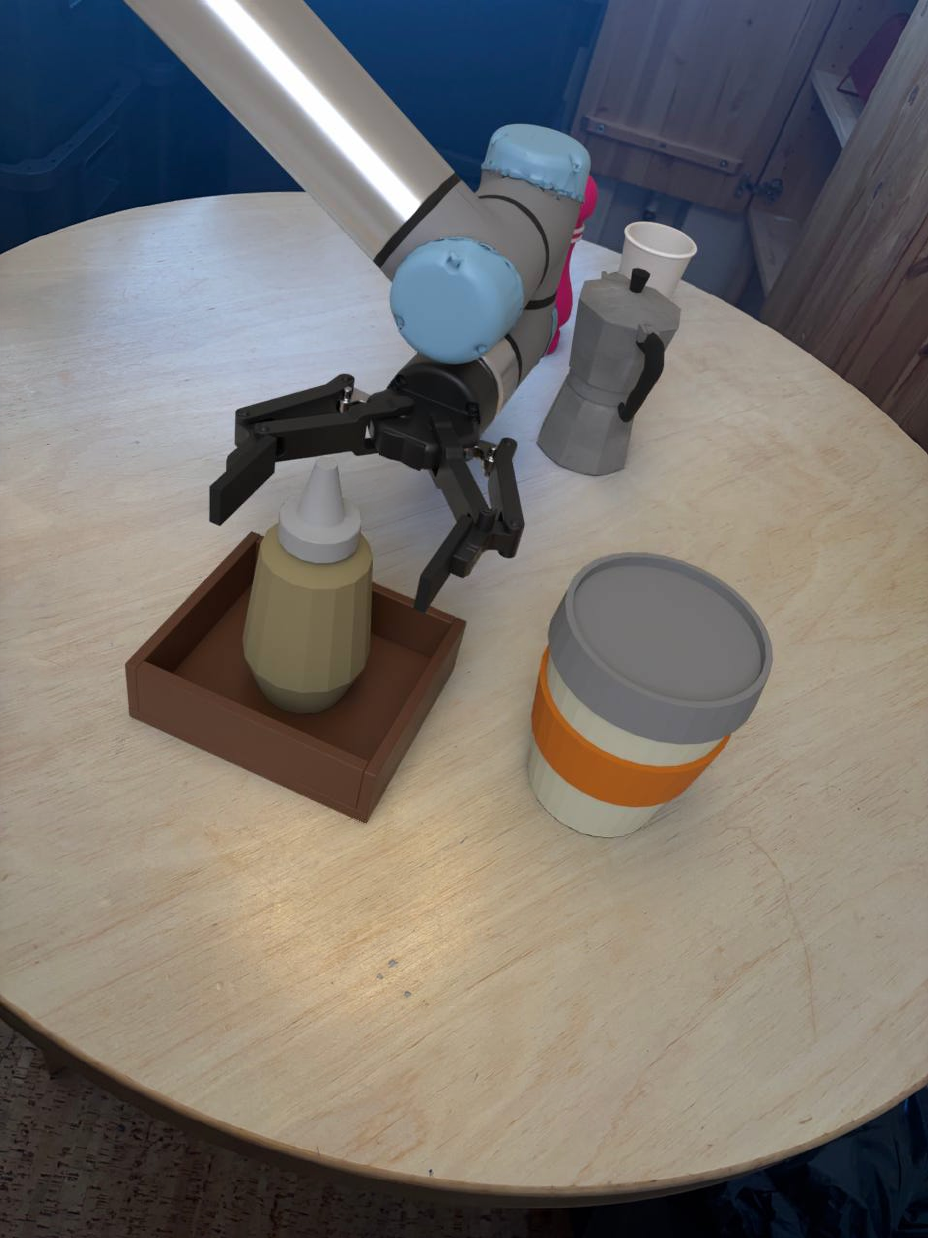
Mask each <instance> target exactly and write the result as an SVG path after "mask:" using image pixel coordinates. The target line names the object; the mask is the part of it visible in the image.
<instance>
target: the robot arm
mask: <svg viewBox="0 0 928 1238" xmlns="http://www.w3.org/2000/svg"><path fill="white" fill-rule="evenodd" d="M123 2H124V3H125V4H126V5H127V6H128V7H129V8H130V9H131V10H132V11H133V12H134V13H135V14H136V15H137V16H138V17H139V18H140V19H141V21H143V23H144V24H145V25H146V27H148V28H149V29H150V30H151V31H152V33H154V34H155V35H156V36H157V37H158V38H159V40H161V41H162V42H163V44H164V45H165V46H166V47H167V49H169V50H170V51H171V52H172V53H173V54H174V55H175V56H176V57H177V59H179V60H180V61H181V62H182V63H183V65H184V66H185V67H186V68H187V69H188V70H189V71H190V72H191V73H192V74H193V75H194V76H195V77H196V79H198V80H199V81H200V82H201V83H202V85H204V86H205V87H206V88H207V90H208V91H209V92H210V93H211V94H212V95H213V96H214V97H215V98H216V100H218V101H219V102H220V104H222V106H224V107H225V108H226V110H227V111H228V112H229V113H230V114H231V115H232V116H233V117H234V118H235V119H236V120H237V121H238V122H239V123H240V124H241V125H242V126H243V127H244V129H246V131H248V133H249V134H250V135H251V136H252V137H253V138H254V139H255V140H256V141H257V142H258V143H259V144H260V145H261V146H262V148H264V149H265V150H266V151H267V152H268V154H269V155H270V156H271V157H273V159H274V160H275V161H276V162H277V163H278V164H279V165H280V166H281V168H283V169H284V170H285V171H286V172H287V174H289V175H290V176H291V178H292V179H293V180H294V181H295V182H296V183H297V184H298V185H299V186H300V187H301V188H302V189H303V191H305V193H307V194H308V196H310V198H311V199H312V200H313V201H314V202H315V203H316V204H317V205H318V206H319V207H320V208H321V209H322V210H323V211H324V212H325V214H327V215H328V217H330V218H331V219H332V220H333V222H334V223H335V224H336V225H337V226H338V227H339V228H340V229H341V230H342V231H343V232H344V233H345V234H346V235H347V236H348V237H349V238H350V239H351V240H352V242H353V243H354V244H355V245H357V247H358V248H359V249H360V250H361V251H362V252H363V253H364V254H365V255H366V257H367V258H369V259H370V260H371V261H372V262H373V263H374V265H376V267H377V268H378V269H379V270H380V271H381V273H383V275H384V276H385V277H386V279H387V280H388V281H390V282H391V286H390V289H389V309H390V312H391V314H392V316H393V321H394V323H395V325H396V327H397V331H398V333H399V334H400V336H401V337H402V339H403V340H404V341H405V342H406V344H408V345H409V347H411V348H412V349H413V350H414V351H416V353H415V355H414V356H413V357H412V358H410V360H408V361H407V363H406V364H405V365H403V366H402V368H401V369H400V370H399V371H398V372H397V373H396V374H395V375H394V376H393V378H392V379H391V381H390V382H389V383H388V384H387V387H385V389H383V390H381V391H378V392H373V393H372V394H368V393H366V392H365V391H362V390H360V389H359V388H356V387H355V383H356V382H355V381H356V379H355V376H354V375H352V374H350V373H340V374H338V375H337V376H335V377H334V378H332V379H331V380H329V381H328V382H327V383H325V384H321V385H318V386H314V387H310V388H307V389H303V390H299V391H297V392H296V391H295V392H292V393H289V394H285V395H282V396H278V397H275V398H274V397H273V398H271V399H268V400H264V401H261V402H257V403H253V404H250V405H246V406H243V407H239V408H237V409H236V410H235V411H234V442H233V443H234V446H235V447H236V448H234V449H233V450H232V451H231V452H230V453H229V454H228V455H227V457H226V459H225V460H226V461H225V471H224V472H223V473H222V474H221V475H220V476H219V477H218V478H216V480H214V482H213V483H211V484H210V485H209V486H208V487H209V489H208V490H209V493H208V495H209V497H208V503H209V504H208V522H209V523H211V524H213V525H215V526H218V527H221V526H223V524H225V522H226V521H227V520H228V519H230V518H231V517H232V515H233V514H234V513H236V511H238V510H239V508H241V506H242V505H243V504H244V503H245V502H247V501H248V499H250V497H252V496H253V494H255V493H256V492H257V491H258V490H259V489H260V488H261V487H262V486H263V485H264V484H265V483H266V482H267V481H268V480H269V479H270V478H271V477H272V476H273V475H274V474H275V472H276V463H281V462H287V461H288V462H289V461H295V460H303V459H309V458H315V457H323V456H329V455H337V454H343V453H353V455H354V456H356V457H362V456H363V457H364V456H370V455H377V454H378V456H380V457H383V458H385V459H388V460H391V461H396V462H399V463H402V464H403V465H404V466H407V467H408V468H410V469H412V470H415V471H417V472H421V470H425V471H428V473H429V475H430V477H431V479H432V482H433V483H434V486H435V488H436V489H437V490H441V492H442V494H443V497H444V499H445V500H446V503H447V505H448V508H449V509H450V511H451V513H452V515H453V517H454V519H455V522H456V523H455V524H454V526H453V527H452V528H451V530H450V531H449V532H448V534H447V536H446V537H445V539H444V540H443V541H442V543H441V544H440V546H439V547H438V549H437V550H436V551H435V553H434V555H433V556H432V558H431V559H430V560H429V562H428V563H427V564H426V566H425V567H424V569H423V571H422V572H421V574H419V578H418V579H419V580H418V584H417V588H416V593H415V597H414V599H415V602H414V607H413V609H415V610H418V611H420V612H422V613H425V612H426V611H427V609H428V608H429V606H431V604H432V603H433V602H434V601H435V599H436V597H437V596H438V594H439V592H440V591H441V589H442V588H443V587H444V585H445V584H446V582H447V580H448V579H449V577H450V575H453V576H456V577H458V578H460V579H465V578H467V577H468V576H470V574H471V572H472V571H473V569H474V568H475V566H476V564H477V563H478V562H479V560H480V558H481V557H482V555H483V554H484V553H486V552H488V551H497V553H498V555H499V556H501V557H502V558H504V559H507V560H508V559H513V558H515V557H517V552H518V550H519V546H520V543H521V540H522V537H523V532H524V530H525V525H526V523H525V518H524V512H523V507H522V503H521V498H520V492H519V488H518V482H517V478H516V471H515V467H514V460H515V459H514V458H515V454H516V452H517V450H518V449H517V448H518V441H516V440H515V439H513V438H512V437H502V438H501V439H500V440H499V443H498V444H496V443H493V442H490V441H487V440H483V439H481V438H482V437H483V436H484V435H485V433H486V432H487V430H488V429H489V428H490V427H491V425H492V423H493V422H494V421H495V419H496V418H497V417H498V415H499V414H500V413H501V411H502V410H503V409H504V407H505V406H506V405H507V404H508V402H509V401H510V400H511V399H512V397H513V395H514V394H515V392H516V391H517V389H518V388H519V387H520V386H521V385H522V383H523V382H524V380H525V379H526V378H527V377H528V376H529V374H530V373H531V371H533V369H534V368H535V367H536V366H537V365H539V364H540V362H541V359H543V358H545V356H546V355H545V354H546V353H547V350H548V348H549V346H550V343H551V341H552V339H553V337H554V335H555V332H556V329H557V323H558V314H557V309H556V305H555V301H556V295H557V292H558V285H559V282H560V279H561V275H562V272H563V268H564V265H565V261H566V258H567V254H568V251H569V248H570V244H571V241H572V237H573V234H574V230H575V227H576V223H577V220H578V217H579V213H580V210H581V206H582V204H584V203H585V200H586V199H585V195H584V194H585V189H586V185H587V181H588V176H589V175H590V172H591V165H592V161H591V160H592V159H591V156H590V153H589V151H588V149H586V148H585V146H584V145H583V144H582V143H580V142H579V141H578V140H577V139H575V138H573V137H572V136H570V135H568V134H566V133H563V132H561V131H559V130H555V129H553V128H550V127H545V126H541V125H536V124H529V123H513V124H512V123H511V124H506V125H504V126H503V125H502V126H501V127H499V128H498V129H496V130H495V131H494V133H492V136H491V137H490V139H489V144H488V148H487V150H486V154H485V158H484V161H483V162H482V163H481V166H480V169H481V175H480V176H481V178H480V183H479V187H478V189H477V190H476V191H475V192H474V191H473V190H472V189H471V188H470V187H469V186H468V185H467V184H466V182H465V181H464V180H463V179H462V178H461V177H460V176H459V175H458V174H457V172H455V170H454V168H452V167H451V165H450V164H449V163H448V162H447V161H446V160H445V158H444V157H443V156H442V155H441V154H440V153H439V152H438V151H437V150H436V149H435V147H434V146H433V145H432V144H431V143H430V142H429V140H427V138H426V137H425V136H424V135H423V134H422V133H421V131H420V130H419V129H418V128H417V127H416V126H415V125H414V124H413V122H412V121H411V120H410V119H409V118H408V117H407V116H406V114H404V112H402V110H401V109H400V108H399V107H398V105H397V104H395V102H394V101H393V100H392V99H391V98H390V97H389V95H387V93H386V92H385V91H384V89H382V88H381V86H380V85H379V84H378V83H377V82H376V81H375V80H374V78H372V77H371V75H370V74H369V73H368V72H367V70H365V68H364V67H363V66H362V65H361V64H360V62H358V61H357V59H356V58H355V57H354V56H353V55H352V53H351V52H349V50H348V49H347V48H346V47H345V46H344V45H343V43H342V42H341V41H340V40H339V39H338V38H337V37H336V36H335V34H334V33H333V32H332V31H331V30H330V29H329V28H328V26H327V25H326V24H325V23H324V22H323V21H322V20H321V18H319V17H318V15H317V14H316V13H315V12H314V11H313V9H311V7H309V5H308V4H307V3H306V2H305V1H304V0H123ZM367 430H368V434H369V437H367V436H366V434H367ZM474 458H475V459H477V460H478V462H480V468H481V469H483V472H482V474H483V476H484V477H485V478H487V480H488V481H487V493H488V499H489V505H490V506H489V505H488V501H486V498H485V496H484V494H483V493H482V490H481V489H480V487H479V485H478V482H477V481H476V479H475V477H474V475H473V473H472V471H471V469H470V468H469V465H468V464H467V463H468V462H470V461H472V460H473V459H474Z"/></svg>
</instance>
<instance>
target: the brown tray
mask: <svg viewBox="0 0 928 1238" xmlns="http://www.w3.org/2000/svg"><path fill="white" fill-rule="evenodd" d="M264 536H265V535H261V534H260V533H258V532H255V531H253V530H251V531H250V532H249V533H248V534H247V535H246V536H245V537H244V538H243V539H242V540H241V541H240V543H238V545H236V546H235V548H233V550H232V551H231V552H230V553H229V554H228V555H226V557H225V558H224V559H223V560H222V561H221V562H220V563H219V565H218V566H216V567H215V569H214V570H213V571H212V572H211V573H210V574H208V576H207V577H206V578H205V579H204V580H203V581H202V582H201V583H200V584H199V585H198V586H197V587H196V588H195V590H194V591H193V592H192V593H191V594H190V595H189V596H188V597H187V598H186V599H185V600H184V601H183V602H182V603H181V604H180V606H178V607H177V608H176V609H175V610H174V612H172V614H171V615H170V616H169V617H168V618H167V619H166V620H165V621H164V622H163V623H162V624H161V625H160V626H159V627H158V628H157V629H156V631H155V632H154V633H153V634H152V635H150V637H149V638H148V639H146V640H145V642H144V643H143V644H142V645H141V646H140V647H139V648H138V649H137V650H136V651H135V653H133V655H132V656H130V658H129V659H128V660H127V661H126V662H125V663H124V671H125V682H126V693H127V705H128V715H129V717H131V718H133V719H134V720H137V721H139V722H141V723H143V724H146V725H148V726H150V727H153V728H155V729H157V730H159V731H162V732H164V733H165V734H168V735H170V736H172V737H174V738H177V739H179V740H181V741H183V742H185V743H187V744H189V745H191V746H194V747H196V748H198V749H200V750H203V751H204V752H207V753H209V754H211V755H214V756H216V757H218V758H220V759H222V760H225V761H226V762H229V763H231V764H234V765H235V766H237V767H240V768H242V769H244V770H246V771H249V772H251V773H252V774H255V775H257V776H259V777H262V778H264V779H266V780H268V781H270V782H273V783H274V784H277V785H279V786H281V787H284V788H286V789H288V790H290V791H292V792H294V793H297V794H299V795H301V796H303V797H305V798H307V797H308V798H307V799H310V800H312V801H314V802H316V803H318V804H320V803H321V805H323V806H324V807H327V808H329V809H331V810H334V811H336V812H338V813H340V814H343V815H344V814H345V816H347V817H349V818H351V819H353V818H354V819H353V820H355V819H356V821H357V820H359V821H358V822H360V821H361V822H360V823H362V822H363V823H362V824H364V823H366V824H367V823H368V822H369V819H370V818H371V816H372V814H373V812H374V811H373V810H375V809H376V808H377V806H378V804H379V802H380V800H381V798H382V797H383V795H384V793H385V791H386V790H387V788H388V786H389V784H390V782H391V781H392V780H393V777H394V776H395V774H396V772H397V770H398V768H399V767H400V765H401V764H402V761H403V759H404V758H405V756H406V754H407V753H408V752H409V749H410V747H411V745H412V744H413V742H414V740H415V738H416V737H417V735H418V734H419V731H420V730H421V728H422V726H423V724H424V723H425V721H426V719H427V717H428V716H429V714H430V712H431V710H432V709H433V706H434V705H435V703H436V702H437V699H438V698H439V696H440V694H441V693H442V692H443V690H444V687H445V685H446V684H447V682H448V680H449V678H450V677H451V675H452V674H453V672H454V670H455V667H456V663H457V659H458V655H459V652H460V648H461V644H462V642H463V637H464V634H465V630H466V626H467V620H465V619H462V618H460V617H458V616H457V617H456V616H455V615H453V614H450V613H448V612H445V611H443V610H441V609H439V608H436V607H434V606H431V605H430V606H429V608H428V609H427V611H426V612H425V613H422V612H420V611H418V610H415V609H413V607H414V602H415V598H412V597H410V596H407V595H404V593H401V592H398V591H395V590H393V589H391V588H389V587H387V586H383V585H381V584H379V583H376V582H374V581H372V604H371V636H370V652H369V656H368V659H367V662H366V665H365V668H364V669H363V671H362V672H361V673H360V675H359V676H358V677H357V679H356V680H355V681H354V683H353V684H352V685H351V687H350V688H349V689H348V691H347V692H346V693H345V695H344V696H343V697H342V698H341V699H340V700H339V701H338V702H337V703H336V704H335V705H334V706H333V707H330V708H328V709H325V710H323V711H320V712H318V713H306V714H298V713H294V712H290V711H286V710H282V709H280V708H279V707H277V706H276V705H274V704H273V703H271V702H269V701H268V700H267V698H266V697H265V695H264V694H263V692H262V691H261V690H260V688H259V686H258V684H257V682H256V680H255V678H254V675H253V673H252V671H251V669H250V667H249V665H248V663H247V661H246V659H245V657H244V647H243V633H244V628H245V622H246V617H247V612H248V607H249V601H250V596H251V591H252V586H253V580H254V575H255V570H256V565H257V559H258V554H259V549H260V544H261V542H262V540H263V538H264ZM369 817H370V818H369Z"/></svg>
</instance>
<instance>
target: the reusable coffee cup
mask: <svg viewBox="0 0 928 1238" xmlns="http://www.w3.org/2000/svg"><path fill="white" fill-rule="evenodd" d="M549 621H550V622H549V627H548V632H547V640H548V641H547V646H546V647H545V650H544V651H543V653H542V655H541V662H540V664H539V665H540V666H539V671H538V675H537V680H536V681H537V682H536V686H535V693H534V698H533V702H532V708H531V714H530V720H531V732H532V734H533V737H532V738H533V739H532V743H531V748H530V754H529V759H528V764H527V772H528V774H529V776H528V780H529V784H530V783H531V784H530V788H531V787H532V788H531V790H532V789H533V790H532V792H533V791H534V792H533V794H534V796H535V795H536V796H537V798H538V800H539V801H540V802H541V804H542V805H543V806H544V807H543V806H542V805H541V804H540V805H541V806H542V807H543V809H544V808H546V810H547V811H548V812H549V813H551V814H552V815H553V816H554V817H555V818H557V819H558V820H559V821H561V822H562V823H565V825H567V826H570V827H572V828H574V829H576V830H579V831H582V832H584V833H588V834H592V835H600V836H616V835H623V834H627V833H629V832H632V831H635V830H637V829H639V828H640V827H641V828H643V827H644V826H645V825H646V824H647V823H648V822H650V820H651V819H652V818H653V817H654V815H655V814H656V813H657V812H659V810H661V808H662V807H663V806H664V804H666V803H668V802H670V801H672V800H674V799H677V798H678V797H679V796H681V795H682V794H683V793H684V792H686V790H687V789H688V788H689V787H691V785H692V784H693V783H694V782H695V781H696V780H697V779H698V778H699V777H700V775H701V774H702V773H703V772H704V771H705V770H706V769H707V768H708V767H709V766H710V765H711V764H712V762H714V760H715V759H716V758H717V757H718V756H719V755H720V754H721V753H722V752H723V750H724V749H725V747H726V746H727V744H728V742H729V741H730V739H731V735H732V734H733V733H736V732H737V731H738V730H739V729H740V728H741V727H742V726H743V725H745V724H746V723H747V721H748V720H749V719H750V717H751V716H752V713H753V712H754V710H755V709H756V707H757V704H758V701H759V699H760V697H761V695H762V693H763V690H764V688H765V686H766V684H767V682H768V679H769V678H770V675H771V671H772V667H773V663H774V653H773V652H774V651H773V644H772V641H771V637H770V634H769V631H768V630H767V627H766V626H765V623H764V622H763V620H762V618H761V617H760V615H759V613H757V612H756V610H755V609H754V607H753V606H752V605H751V604H750V603H749V602H748V600H746V599H745V598H744V597H743V596H742V595H741V594H740V593H739V592H738V591H737V589H735V588H734V587H732V586H731V585H729V584H728V583H726V582H725V581H723V580H722V579H721V578H719V577H718V576H716V575H714V574H713V573H710V572H709V571H707V570H706V569H703V568H701V567H699V566H698V565H694V564H692V563H689V562H687V561H685V560H681V559H678V558H675V557H671V556H667V555H663V554H658V553H651V552H640V551H639V552H638V551H636V552H633V551H632V552H631V551H627V552H618V553H612V554H608V555H606V556H605V555H604V556H601V557H599V558H596V559H594V560H592V561H590V562H588V563H587V564H586V565H584V566H582V568H580V570H579V571H577V573H576V574H575V575H574V576H573V578H572V579H571V581H570V583H569V585H568V587H567V588H566V590H565V593H564V595H563V596H562V598H561V600H560V602H559V603H558V605H557V608H556V610H555V611H554V613H553V615H552V616H551V619H550V620H549ZM528 774H527V775H528ZM536 796H535V797H536ZM537 798H536V799H537ZM538 800H537V801H538ZM539 801H538V802H539ZM540 802H539V803H540ZM546 810H545V811H546ZM547 811H546V812H547ZM548 812H547V813H548ZM549 813H548V814H549ZM554 817H553V818H554ZM555 818H554V819H555ZM559 821H558V822H559ZM562 823H561V824H562ZM645 823H646V824H645ZM644 824H645V825H644ZM565 825H564V826H565ZM643 825H644V826H643ZM642 826H643V827H642ZM641 828H640V829H641ZM640 829H639V830H640ZM637 831H638V830H637ZM635 832H636V831H635Z"/></svg>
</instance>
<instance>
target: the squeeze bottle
mask: <svg viewBox="0 0 928 1238" xmlns="http://www.w3.org/2000/svg"><path fill="white" fill-rule="evenodd" d="M340 477H341V476H340V471H339V464H338V461H337V460H336V459H335V458H333V457H331V456H327V455H323V456H318V457H317V459H316V460H315V462H314V465H313V468H312V471H311V473H310V476H309V479H308V482H307V484H306V486H305V488H304V491H303V492H298V493H296V494H293V495H292V496H290V497H289V498H288V499H287V498H286V500H285V501H283V502H282V505H281V507H280V509H279V511H278V519H277V520H278V521H277V523H276V524H274V525H273V526H271V527H269V529H268V530H266V532H265V534H264V535H263V536H264V538H263V540H262V542H261V544H260V549H259V554H258V559H257V565H256V570H255V575H254V580H253V586H252V591H251V596H250V601H249V607H248V612H247V617H246V622H245V628H244V633H243V647H244V657H245V659H246V661H247V663H248V665H249V667H250V669H251V671H252V673H253V675H254V678H255V680H256V682H257V684H258V686H259V688H260V690H261V691H262V692H263V694H264V695H265V697H266V698H267V700H268V701H269V702H271V703H273V704H274V705H276V706H277V707H279V708H280V709H282V710H286V711H290V712H294V713H298V714H306V713H318V712H320V711H323V710H325V709H328V708H330V707H333V706H334V705H335V704H336V703H337V702H338V701H339V700H340V699H341V698H342V697H343V696H344V695H345V693H346V692H347V691H348V689H349V688H350V687H351V685H352V684H353V683H354V681H355V680H356V679H357V677H358V676H359V675H360V673H361V672H362V671H363V669H364V668H365V665H366V662H367V659H368V656H369V652H370V636H371V604H372V582H373V572H374V571H373V568H374V567H373V566H374V555H373V552H372V547H371V543H370V541H368V539H367V538H366V537H365V536H364V535H363V533H362V527H363V519H362V515H361V512H360V510H359V509H358V508H357V506H355V504H354V503H353V502H352V501H351V500H349V499H347V498H345V497H343V492H342V484H341V478H340Z"/></svg>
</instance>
